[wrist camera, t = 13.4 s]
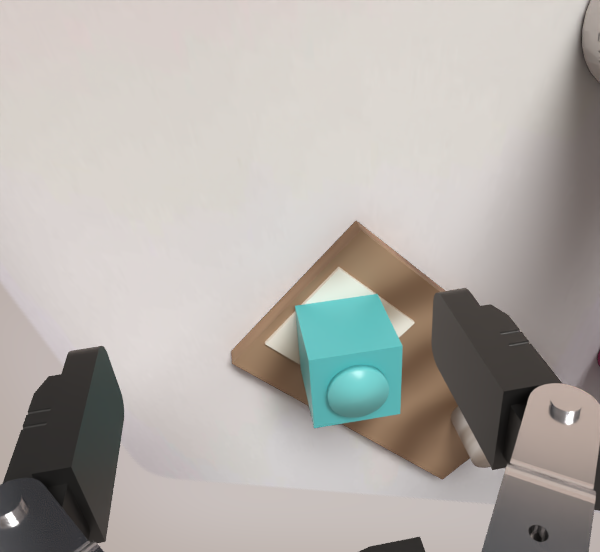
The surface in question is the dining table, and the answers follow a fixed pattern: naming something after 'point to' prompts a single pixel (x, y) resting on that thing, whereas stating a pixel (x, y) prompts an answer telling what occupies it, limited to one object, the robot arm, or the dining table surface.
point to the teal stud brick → (349, 360)
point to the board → (412, 334)
